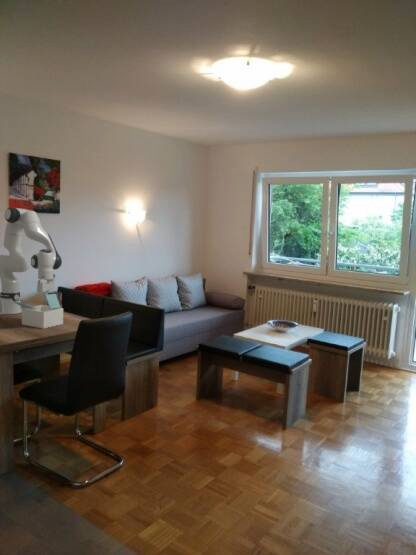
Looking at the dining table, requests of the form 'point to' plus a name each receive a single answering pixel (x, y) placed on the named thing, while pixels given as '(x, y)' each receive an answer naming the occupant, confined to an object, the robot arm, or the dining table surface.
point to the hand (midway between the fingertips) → (45, 298)
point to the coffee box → (59, 297)
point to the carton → (42, 316)
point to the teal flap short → (52, 301)
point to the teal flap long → (25, 305)
